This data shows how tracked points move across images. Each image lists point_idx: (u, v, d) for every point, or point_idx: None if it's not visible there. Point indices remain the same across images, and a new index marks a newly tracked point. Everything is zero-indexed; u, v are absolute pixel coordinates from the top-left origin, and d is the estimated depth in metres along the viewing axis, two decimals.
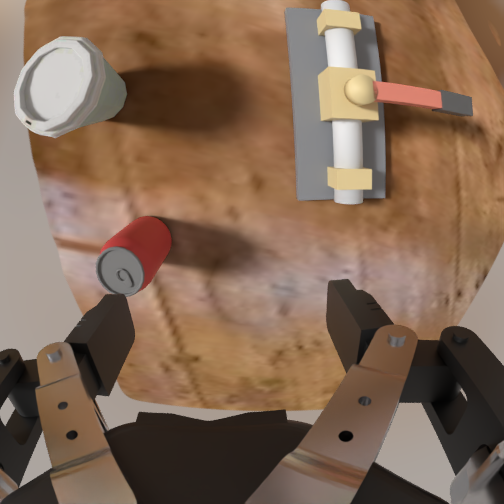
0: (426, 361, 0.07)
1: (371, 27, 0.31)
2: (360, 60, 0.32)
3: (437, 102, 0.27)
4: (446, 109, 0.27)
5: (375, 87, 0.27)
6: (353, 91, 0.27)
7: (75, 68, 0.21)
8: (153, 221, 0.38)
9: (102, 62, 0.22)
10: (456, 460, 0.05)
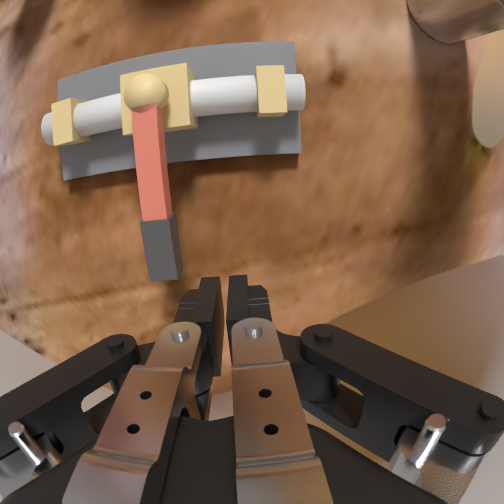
0: (283, 356, 0.08)
1: (282, 148, 0.29)
2: (225, 129, 0.29)
3: (148, 212, 0.23)
4: (142, 228, 0.23)
5: (147, 108, 0.20)
6: (137, 79, 0.20)
7: None
8: None
9: None
10: (376, 447, 0.06)
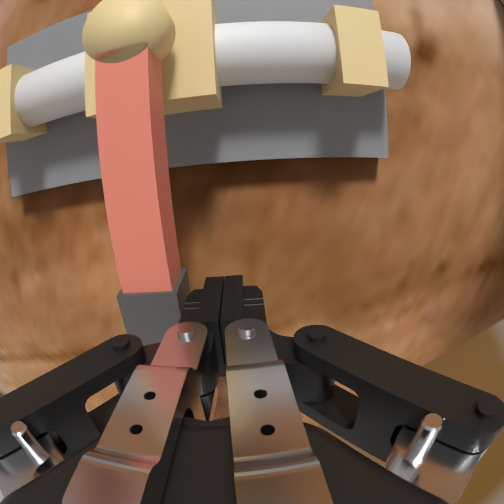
0: (277, 357, 0.08)
1: (360, 149, 0.17)
2: (269, 111, 0.16)
3: (133, 276, 0.11)
4: (122, 307, 0.11)
5: (127, 52, 0.08)
6: (112, 0, 0.07)
7: None
8: None
9: None
10: (372, 447, 0.06)
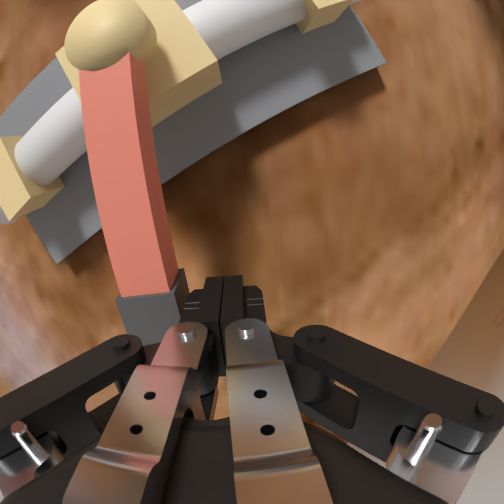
0: (277, 357, 0.08)
1: (359, 65, 0.16)
2: (265, 67, 0.16)
3: (130, 280, 0.11)
4: (122, 311, 0.11)
5: (110, 58, 0.08)
6: (92, 9, 0.07)
7: None
8: None
9: None
10: (372, 447, 0.06)
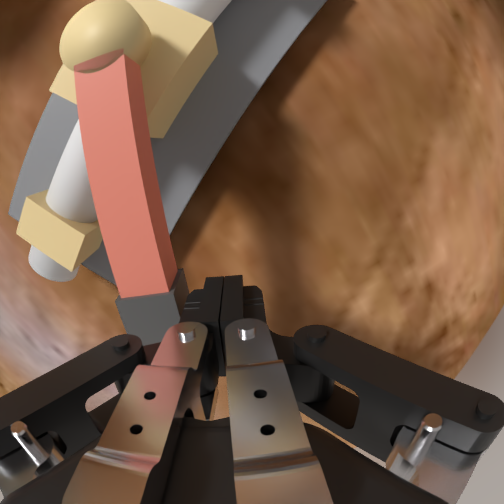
0: (277, 357, 0.08)
1: None
2: (248, 24, 0.15)
3: (129, 281, 0.11)
4: (122, 312, 0.11)
5: (105, 60, 0.08)
6: (86, 11, 0.07)
7: None
8: None
9: None
10: (372, 447, 0.06)
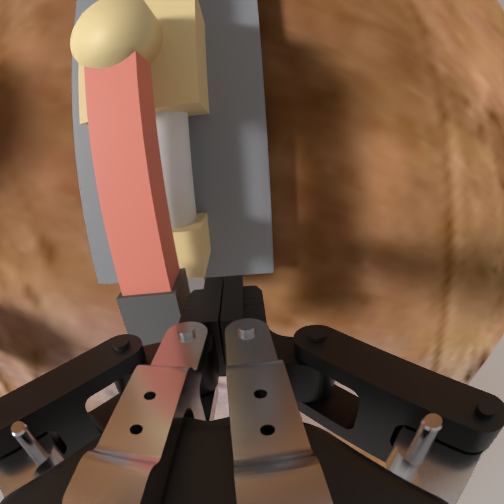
0: (277, 357, 0.08)
1: None
2: None
3: (132, 279, 0.11)
4: (123, 310, 0.11)
5: (116, 56, 0.08)
6: (99, 6, 0.07)
7: None
8: None
9: None
10: (372, 447, 0.06)
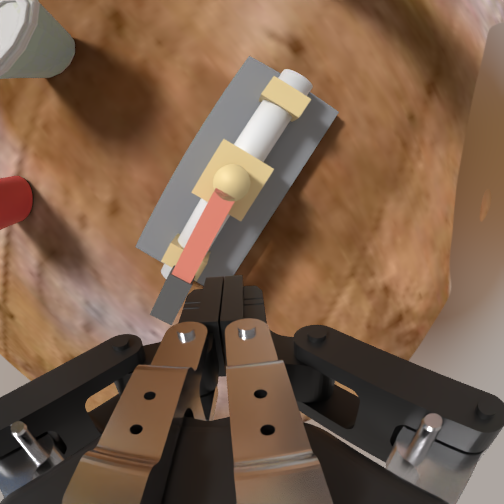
0: (277, 357, 0.08)
1: (326, 122, 0.32)
2: (284, 149, 0.33)
3: (179, 271, 0.28)
4: (168, 279, 0.28)
5: (227, 197, 0.27)
6: (234, 168, 0.26)
7: (11, 29, 0.16)
8: (22, 187, 0.32)
9: (31, 34, 0.17)
10: (372, 447, 0.06)
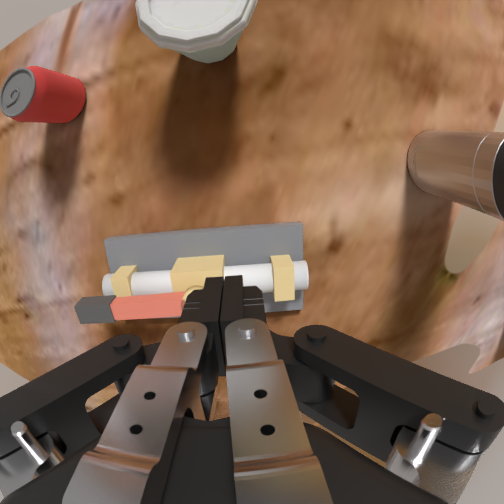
0: (277, 357, 0.08)
1: (289, 307, 0.42)
2: None
3: (116, 309, 0.32)
4: (105, 305, 0.32)
5: None
6: None
7: (203, 18, 0.19)
8: (77, 104, 0.31)
9: (208, 46, 0.21)
10: (372, 447, 0.06)
